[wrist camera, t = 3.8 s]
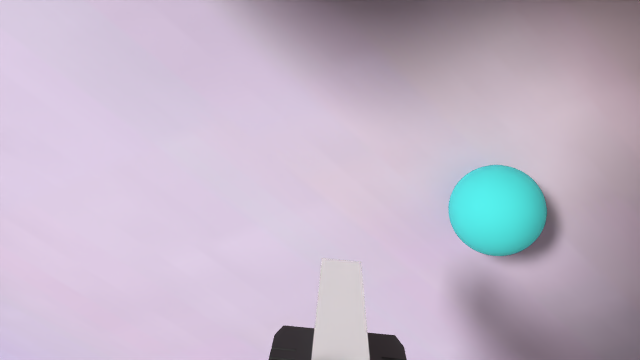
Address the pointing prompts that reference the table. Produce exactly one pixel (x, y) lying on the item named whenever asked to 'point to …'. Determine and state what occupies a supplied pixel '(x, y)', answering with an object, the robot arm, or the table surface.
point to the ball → (497, 210)
